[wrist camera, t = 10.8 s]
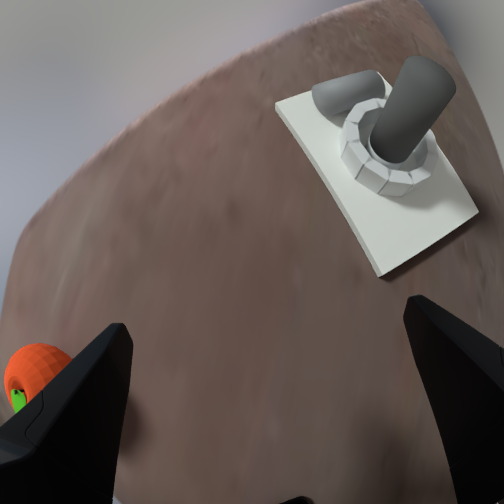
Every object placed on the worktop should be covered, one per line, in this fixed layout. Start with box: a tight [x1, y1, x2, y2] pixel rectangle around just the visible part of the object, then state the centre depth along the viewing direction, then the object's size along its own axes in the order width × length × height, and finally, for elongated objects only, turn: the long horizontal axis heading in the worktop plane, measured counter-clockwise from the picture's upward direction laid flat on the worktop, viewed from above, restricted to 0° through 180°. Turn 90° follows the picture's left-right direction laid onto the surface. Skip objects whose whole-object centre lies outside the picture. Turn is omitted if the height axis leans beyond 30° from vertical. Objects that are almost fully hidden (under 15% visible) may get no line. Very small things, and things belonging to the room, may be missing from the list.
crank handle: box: [365, 56, 456, 170], centre depth 19 cm, size 4×4×10 cm
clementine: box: [4, 343, 72, 413], centre depth 18 cm, size 8×7×7 cm
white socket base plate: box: [275, 70, 479, 277], centre depth 23 cm, size 17×12×4 cm
